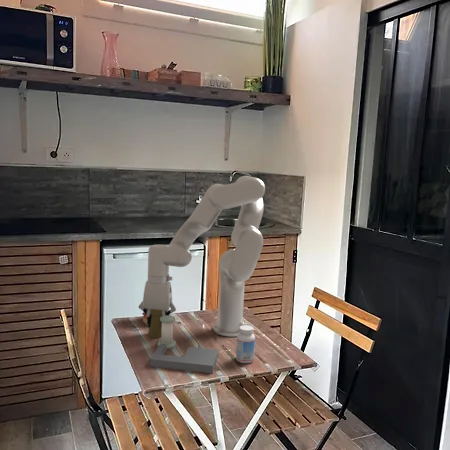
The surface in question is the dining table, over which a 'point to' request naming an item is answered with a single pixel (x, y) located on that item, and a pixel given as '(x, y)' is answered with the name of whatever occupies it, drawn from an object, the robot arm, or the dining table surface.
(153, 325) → the cork
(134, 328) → the dining table surface
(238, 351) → the pill bottle
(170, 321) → the bobbin post
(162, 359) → the gray block
